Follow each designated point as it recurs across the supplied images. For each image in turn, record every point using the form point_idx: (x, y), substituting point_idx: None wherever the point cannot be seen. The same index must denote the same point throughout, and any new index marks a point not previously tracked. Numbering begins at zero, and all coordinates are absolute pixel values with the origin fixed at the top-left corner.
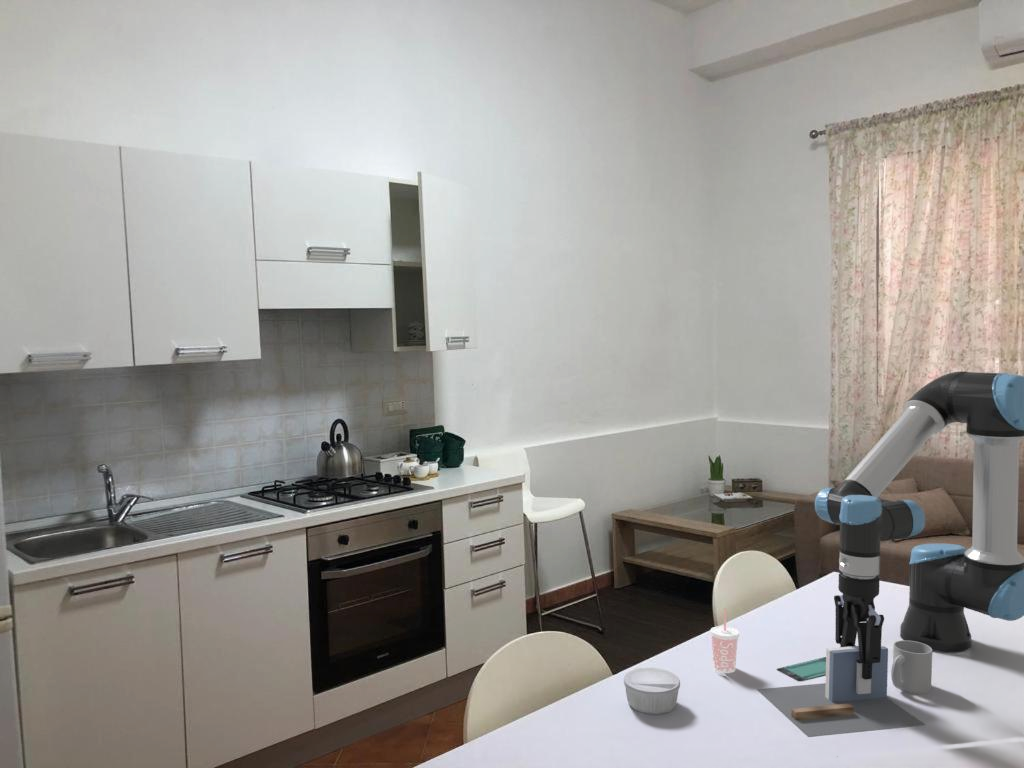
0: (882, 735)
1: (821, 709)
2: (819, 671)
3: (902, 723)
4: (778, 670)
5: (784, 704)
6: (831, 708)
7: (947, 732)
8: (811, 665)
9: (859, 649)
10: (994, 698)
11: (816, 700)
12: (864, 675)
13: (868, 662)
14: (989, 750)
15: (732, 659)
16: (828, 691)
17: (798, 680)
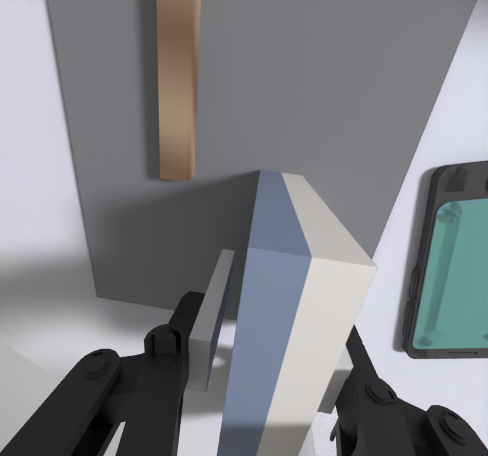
0: (71, 176)
1: (161, 33)
2: (451, 279)
3: (106, 257)
4: None
5: None
6: (162, 87)
7: (82, 312)
8: None
9: (165, 429)
10: (191, 446)
11: (291, 124)
12: (187, 302)
13: (90, 356)
14: (15, 322)
15: None
16: (286, 178)
17: (451, 173)
